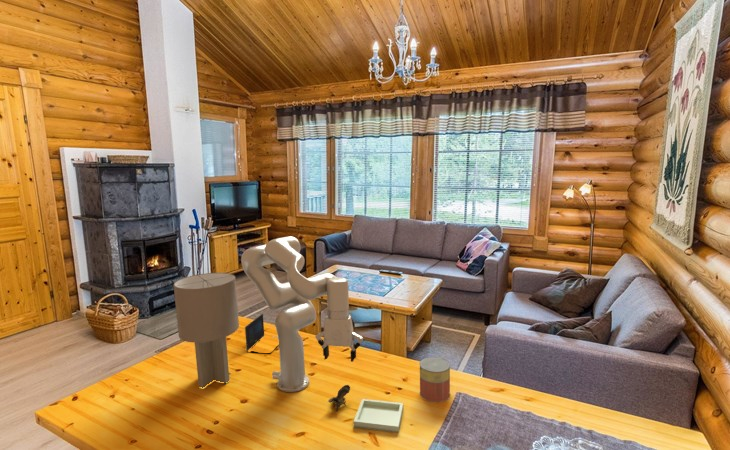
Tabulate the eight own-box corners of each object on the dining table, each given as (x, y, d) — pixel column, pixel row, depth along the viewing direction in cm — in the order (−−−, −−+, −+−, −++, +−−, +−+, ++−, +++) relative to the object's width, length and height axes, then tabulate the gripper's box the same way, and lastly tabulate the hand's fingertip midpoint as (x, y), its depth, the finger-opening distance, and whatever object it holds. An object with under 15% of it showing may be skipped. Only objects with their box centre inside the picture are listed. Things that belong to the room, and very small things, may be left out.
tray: (353, 427, 130) (353, 421, 130) (362, 404, 142) (362, 398, 142) (398, 432, 127) (398, 426, 126) (403, 408, 139) (403, 403, 139)
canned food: (427, 382, 156) (427, 354, 154) (454, 391, 149) (454, 361, 148) (414, 396, 147) (414, 366, 145) (442, 406, 140) (442, 374, 138)
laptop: (270, 355, 183) (269, 328, 181) (246, 353, 186) (244, 327, 184) (286, 338, 201) (284, 314, 199) (263, 337, 203) (262, 313, 202)
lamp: (170, 389, 156) (159, 285, 150) (212, 362, 177) (204, 270, 171) (215, 400, 147) (205, 291, 141) (254, 371, 168) (247, 274, 162)
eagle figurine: (352, 409, 138) (355, 390, 146) (340, 395, 136) (343, 377, 145) (335, 418, 140) (338, 399, 148) (323, 404, 138) (327, 386, 147)
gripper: (311, 315, 135) (313, 361, 137) (359, 318, 131) (361, 366, 134) (318, 307, 142) (320, 351, 145) (364, 310, 139) (365, 355, 141)
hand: (339, 358), depth 139 cm, fingers open, 9 cm apart
